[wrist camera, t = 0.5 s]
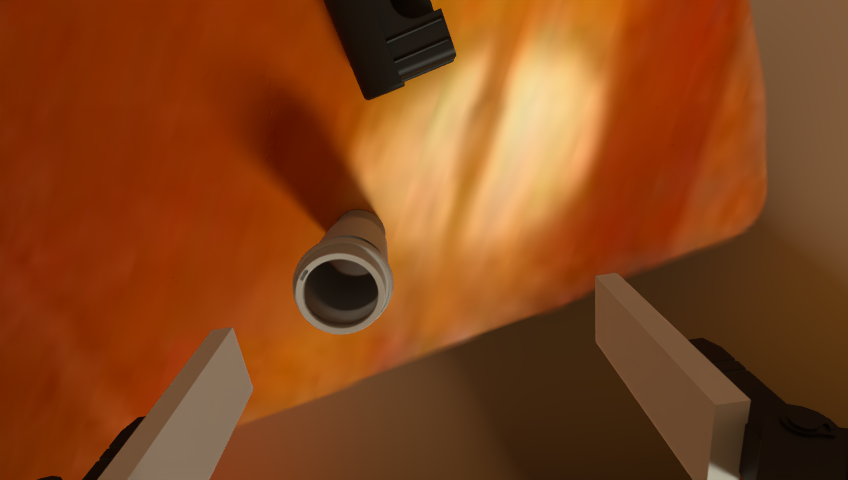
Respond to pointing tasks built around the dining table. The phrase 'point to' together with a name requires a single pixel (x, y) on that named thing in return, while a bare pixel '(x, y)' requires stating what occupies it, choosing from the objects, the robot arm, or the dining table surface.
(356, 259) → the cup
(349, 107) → the dining table surface
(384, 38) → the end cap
